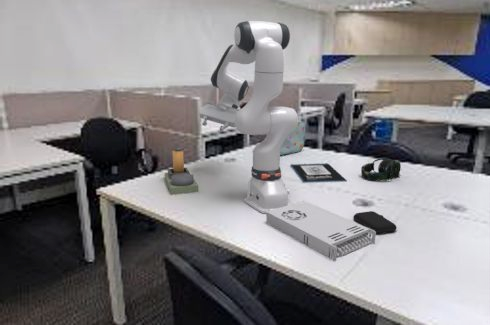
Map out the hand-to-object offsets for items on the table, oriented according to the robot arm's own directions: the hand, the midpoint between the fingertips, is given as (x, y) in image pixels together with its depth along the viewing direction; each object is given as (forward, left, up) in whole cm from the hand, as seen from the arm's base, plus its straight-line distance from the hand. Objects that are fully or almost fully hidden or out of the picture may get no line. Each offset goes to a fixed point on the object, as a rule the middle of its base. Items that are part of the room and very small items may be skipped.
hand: (212, 127), depth 179 cm
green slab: (-3, +16, -26) cm, 31 cm away
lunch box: (+39, -57, -26) cm, 73 cm away
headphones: (-23, -81, -26) cm, 88 cm away
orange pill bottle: (+2, +16, -23) cm, 28 cm away
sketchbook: (-6, -54, -27) cm, 60 cm away
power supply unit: (-68, -20, -27) cm, 76 cm away
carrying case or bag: (-69, -43, -27) cm, 85 cm away
